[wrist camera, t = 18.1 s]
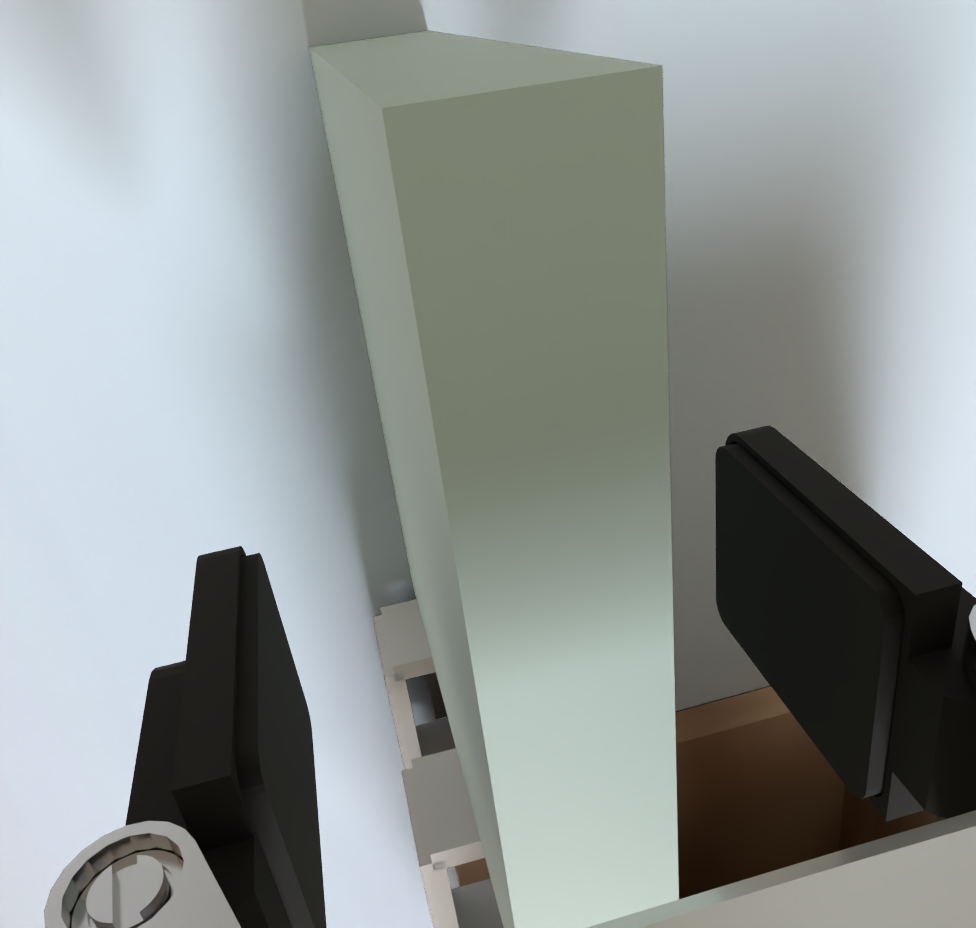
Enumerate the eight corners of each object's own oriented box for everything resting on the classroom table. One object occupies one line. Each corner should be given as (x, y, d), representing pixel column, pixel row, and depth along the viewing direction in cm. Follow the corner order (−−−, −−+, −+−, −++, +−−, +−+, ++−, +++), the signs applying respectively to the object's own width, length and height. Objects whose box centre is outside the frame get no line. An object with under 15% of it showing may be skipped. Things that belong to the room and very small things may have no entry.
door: (247, 55, 14) (231, 130, 6) (485, 22, 15) (792, 45, 6) (398, 728, 22) (491, 1210, 13) (555, 687, 22) (745, 1123, 14)
